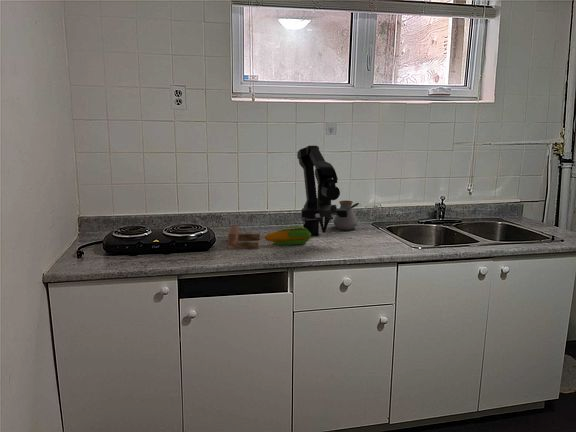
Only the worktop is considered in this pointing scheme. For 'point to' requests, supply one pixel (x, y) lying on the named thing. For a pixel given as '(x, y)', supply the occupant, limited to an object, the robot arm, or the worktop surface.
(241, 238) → the guide bay
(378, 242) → the worktop surface
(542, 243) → the worktop surface
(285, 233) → the corn
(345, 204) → the coffee pot
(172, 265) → the worktop surface
